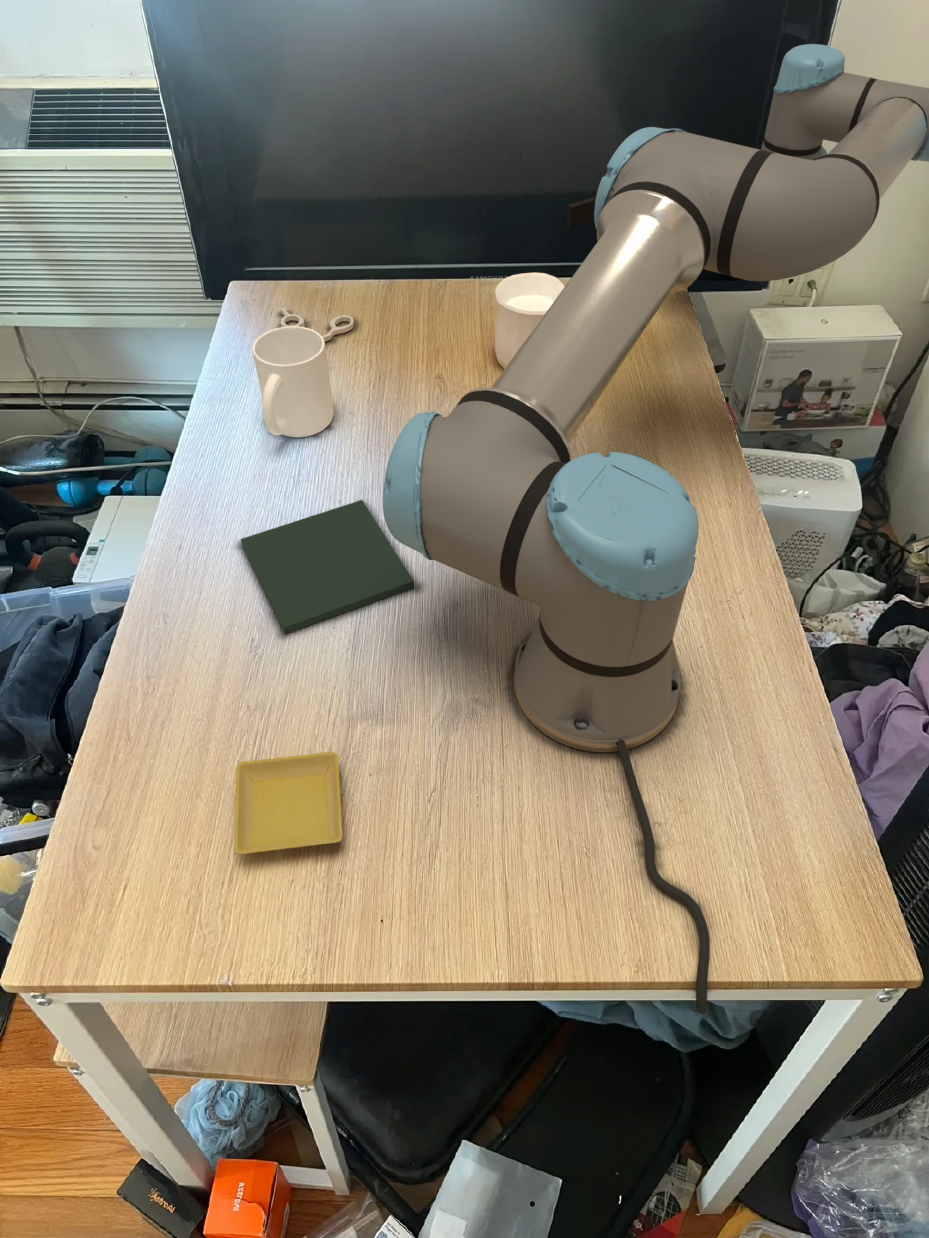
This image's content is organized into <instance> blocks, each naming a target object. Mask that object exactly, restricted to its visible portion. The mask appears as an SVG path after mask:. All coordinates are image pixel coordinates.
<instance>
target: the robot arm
mask: <svg viewBox="0 0 929 1238" xmlns="http://www.w3.org/2000/svg"><path fill="white" fill-rule="evenodd" d="M845 62H846V57H845V54H844V53H843V51H841V50H840V49H838V48H833V47H832V46H830V45H825V44H818V43H817V44H816V43H807V44H800V45H798V46H794V47H792V48H791V49H790V50H788V52H786V53H785V55H784V56H783V59H782V62H781V66H780V69H779V73H778V77H777V81H776V83H775V86H774V87H773V93H772V94H773V95H772V100H771V104H770V109H769V114H768V117H767V118H768V119H767V123H766V127H765V132H764V136H763V140H762V144H761V149H759V148H754V147H750V146H746V145H743V144H737V143H733V142H730V141H729V142H728V141H726V140H720V139H718V138H717V139H716V138H712V137H708V136H704V135H699V134H695V133H692V132H688V131H686V130H684V129H681V128H673V127H671V128H662V127H656V126H648V127H643V128H640V129H638V130H636V131H634V132H633V133H631V134H630V135H629V136H627V137H626V138H625V139H624V140H623V141H622V142H621V144H620V145H619V146H618V147H617V148H616V150H615V152H614V153H613V154H612V156H611V158H610V160H609V161H608V163H607V165H606V174H605V175H604V176H602V177H601V178H600V179H601V180H600V182H599V184H598V188H597V192H596V195H595V196H593V197H589V198H586V199H583V200H580V201H577V202H574V203H570V204H568V205H567V217H566V226H567V227H568V228H569V229H571V228H574V227H577V226H581V225H585V224H587V223H591V222H594V225H595V229H596V238H597V239H596V240H597V242H596V243H595V245H594V246H593V248H592V249H591V251H589V253H588V254H587V256H586V257H585V259H584V260H583V261H582V263H581V264H580V265H579V267H578V268H577V270H576V271H575V273H573V275H572V277H570V279H569V281H568V282H567V283H566V285H564V286H565V287H564V289H563V290H562V291H561V293H560V294H559V295H558V297H557V298H556V300H555V301H554V302H553V304H552V305H551V306H550V308H549V309H548V310H547V312H546V313H545V315H544V316H543V317H542V319H541V320H540V321H539V323H538V324H537V325H536V327H535V328H534V330H533V331H532V332H531V334H530V335H529V336H528V338H527V339H526V340H525V342H524V343H523V345H522V346H521V347H520V349H519V350H518V351H517V353H516V354H515V355H514V357H513V358H512V360H511V361H510V362H509V364H508V365H507V366H506V368H505V369H504V368H503V371H502V372H501V373H500V375H499V376H498V377H497V379H496V380H495V381H494V382H493V384H492V386H490V387H479V388H474V389H472V390H470V391H468V392H467V393H465V395H463V396H462V397H461V399H459V401H458V402H457V404H456V405H455V406H454V407H453V409H452V410H451V411H450V413H449V414H448V415H447V416H445V417H444V416H443V415H442V414H441V413H438V412H437V411H433V412H430V411H425V412H419V413H417V414H415V415H414V416H412V418H409V420H408V421H407V422H406V423H405V425H404V426H403V428H402V430H401V431H400V432H399V435H398V436H397V438H396V440H395V442H394V444H393V446H392V449H391V451H390V455H389V458H388V462H387V464H386V470H385V472H384V473H385V474H384V481H383V487H382V512H383V517H384V521H385V524H386V526H387V529H388V531H389V533H390V534H391V536H392V537H393V538H394V539H395V540H396V541H397V542H398V543H400V544H402V545H403V546H406V547H408V548H410V549H411V550H414V551H416V552H418V553H420V554H421V555H422V556H423V557H424V558H425V559H427V560H428V561H435V562H437V563H440V564H442V565H445V566H447V567H449V568H451V569H454V570H456V571H458V572H461V573H463V574H465V575H468V576H470V577H472V578H474V579H477V580H479V581H481V582H484V583H485V584H488V585H489V586H490V585H491V586H492V587H494V588H498V589H499V590H502V591H503V592H506V593H509V594H511V595H513V596H516V597H518V598H520V599H522V600H524V601H527V602H530V603H531V604H534V605H536V606H538V607H539V615H538V617H537V619H536V621H535V622H534V624H533V626H532V628H531V630H530V631H529V633H528V634H527V636H526V637H525V638H524V640H523V641H522V643H521V645H520V647H519V648H518V650H517V654H516V657H515V663H514V679H513V683H514V684H513V685H514V691H515V692H514V693H515V696H516V699H517V702H518V704H519V706H520V708H521V710H522V711H523V713H524V715H525V716H526V718H527V719H528V720H529V721H530V722H531V724H532V725H533V726H534V727H536V729H538V730H539V731H540V732H541V733H543V734H544V735H546V736H547V737H549V738H551V739H552V740H554V741H556V742H558V743H560V744H563V745H564V746H567V747H570V748H573V749H577V750H581V751H586V752H592V753H593V752H595V753H614V752H618V755H619V758H620V761H621V764H622V768H623V771H624V775H625V778H626V781H627V786H628V788H629V791H630V794H631V798H632V801H633V804H634V807H635V810H636V813H637V817H638V820H639V824H640V827H641V831H642V836H643V841H644V864H645V867H646V872H647V874H648V876H649V878H650V879H651V881H652V882H653V883H654V885H655V886H657V888H659V889H660V890H661V891H663V892H664V893H666V894H667V895H669V896H671V897H673V898H674V899H676V900H678V901H680V902H681V903H682V904H684V905H685V906H686V907H687V908H688V909H689V911H690V913H691V915H692V917H693V919H694V922H695V925H696V929H697V935H698V960H697V969H696V981H695V982H696V985H695V1006H696V1010H697V1011H698V1013H699V1014H701V1015H704V1014H706V1013H707V1010H708V978H709V966H710V955H711V953H710V952H711V946H710V945H711V941H710V933H709V928H708V924H707V921H706V919H705V916H704V913H703V911H702V909H701V908H700V906H699V904H698V903H697V902H696V901H695V900H694V898H692V897H691V896H690V895H689V894H688V893H686V892H684V891H683V890H681V889H680V888H678V887H676V886H675V885H673V884H670V883H669V882H668V881H667V880H665V879H664V878H663V877H662V876H661V875H660V873H659V871H658V869H657V867H656V859H655V858H656V857H655V856H656V855H655V853H656V847H655V846H656V845H655V839H654V838H655V837H654V833H653V830H652V826H651V823H650V820H649V816H648V811H647V809H646V806H645V803H644V800H643V796H642V794H641V791H640V787H639V784H638V781H637V777H636V775H635V771H634V767H633V765H632V761H631V758H630V755H629V751H628V750H630V749H633V748H636V747H639V746H641V745H643V744H645V743H647V742H649V741H650V740H652V739H653V738H656V737H657V736H658V735H659V734H660V733H661V732H662V731H663V730H664V729H665V728H666V727H667V726H668V724H669V723H670V722H671V719H672V718H673V716H674V714H675V711H676V708H677V705H678V702H679V698H680V694H681V690H682V674H681V669H680V664H679V659H678V656H677V652H676V647H675V642H674V636H675V632H676V628H677V626H678V621H679V617H680V613H681V610H682V606H683V603H684V600H685V595H686V591H687V588H688V584H689V581H690V580H691V577H692V575H693V573H694V571H695V562H696V551H697V549H696V548H697V542H698V538H699V528H700V527H699V517H698V512H697V509H696V507H695V506H694V505H693V503H692V502H691V497H690V495H689V493H688V491H687V490H686V489H685V488H684V486H683V485H682V484H681V483H680V481H678V480H677V478H675V477H674V476H673V475H672V474H671V473H669V471H667V470H665V469H664V468H662V467H661V466H659V465H657V464H655V463H653V462H651V461H649V460H647V459H644V458H642V457H640V456H637V455H633V454H630V453H625V452H619V451H610V452H609V453H608V454H607V455H606V456H603V455H602V454H601V453H600V452H589V453H586V454H583V455H579V456H577V457H575V458H573V453H572V450H571V447H570V445H569V444H570V442H571V441H572V439H573V438H574V437H575V435H576V433H577V432H578V430H579V429H580V428H581V426H582V424H583V423H584V421H585V420H586V418H587V417H588V415H589V414H590V412H591V411H592V410H593V408H594V407H595V405H596V403H597V402H598V401H599V399H600V397H601V396H602V394H603V393H604V391H605V389H606V388H607V387H608V385H609V384H610V382H611V381H612V379H613V378H614V376H615V375H616V373H617V372H618V370H619V369H620V367H621V366H622V364H623V362H624V361H625V360H626V358H627V357H628V356H629V354H630V353H631V350H633V348H634V346H635V345H636V344H637V342H638V340H639V339H640V337H641V336H642V335H643V333H644V331H645V330H646V329H647V328H648V325H649V324H650V322H651V321H652V319H653V318H654V317H655V315H656V313H657V312H658V310H659V309H660V307H661V306H662V304H663V302H664V301H665V300H666V298H667V297H668V295H671V294H676V293H679V292H682V291H684V290H685V289H687V288H689V287H690V286H692V284H693V283H694V282H695V281H696V280H697V279H698V277H699V276H700V274H701V273H702V272H703V270H705V271H708V272H709V271H710V272H714V273H716V274H720V275H725V276H727V277H728V276H729V277H731V278H736V279H740V280H743V281H750V282H772V281H780V280H785V279H790V278H794V277H799V276H801V275H804V274H807V273H812V272H814V271H816V270H819V269H821V268H823V267H825V266H828V265H829V264H832V263H834V262H835V261H837V260H838V259H840V258H842V257H843V256H845V255H846V254H847V253H849V252H850V251H852V250H853V249H854V248H855V247H856V246H857V245H858V244H859V243H860V242H861V241H862V240H863V239H864V237H865V236H866V235H867V234H868V232H869V231H870V230H871V228H872V226H873V225H874V223H875V221H876V220H877V216H878V215H879V210H880V205H881V199H882V198H883V197H884V196H885V194H886V192H887V191H888V190H889V189H890V187H891V186H893V184H894V182H895V181H896V179H898V177H899V176H900V174H902V172H903V171H904V169H905V168H906V167H907V166H908V164H909V163H910V161H913V162H917V161H919V162H920V161H921V162H928V163H929V87H925V86H919V85H913V84H907V83H901V82H896V81H890V80H885V79H878V78H874V77H870V76H865V75H859V74H856V73H849V72H845V68H846V67H845ZM823 141H828V142H833V143H837V144H836V145H835V146H834V147H833V148H831V150H830V151H829V152H828V151H827V150H826V149H825V147H824V146H823V143H824V142H823Z"/></svg>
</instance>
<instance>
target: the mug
mask: <svg viewBox="0 0 929 1238" xmlns="http://www.w3.org/2000/svg"><path fill="white" fill-rule="evenodd" d="M322 336H323V335H322V334H320V333H319V332H317V331H316V330H314V329H312V328H309V327H299V326H294V325H289V326H288V327H281V326H280V327H277V328H272V329H271V330H268V331H266V332H264V333H263V334H260V336H258V337H257V338H256V339H255V340H254V342H253V344H252V355H253V359H254V365H255V369H256V374H257V379H258V385H259V389H260V395H261V401H262V403H261V406H262V408H261V409H262V411H261V412H262V418H263V422H264V425H265V427H266V429H267V431H268V432H269V433H270V434H271V435H273V436H285V437H289V438H306V437H310V436H311V437H312V436H314V435H316V434H319V433H320V432H322V431H324V430H325V429H326V428H327V427H328V426H329V425H330V424H331V422H332V421H333V418H334V411H335V410H334V401H333V394H332V388H331V387H332V386H331V379H330V373H329V364H328V357H327V350H326V343H325V342H326V341H325V342H324V339H323V337H322Z"/></svg>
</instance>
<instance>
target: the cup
mask: <svg viewBox="0 0 929 1238" xmlns="http://www.w3.org/2000/svg"><path fill="white" fill-rule="evenodd" d="M565 286H566V285H565V284H564V283H563V282H562V281H561V280H560V279H558V278H557V277H556V276H555V275H552V274H551V275H550V274H549V273H545V272H525V273H523V272H522V273H517V274H512V275H510V276H507V277H505V278H503V279H502V280H501V281H500V282H499V283H497V285H496V287H495V289H494V292H495V301H496V302H495V303H496V320H495V327H494V328H495V329H494V350H495V351H494V352H495V357H496V361H497V362H498V363H499V365H500V366H501V368H502V369H503V370H504V369H505V368H506V366H507V365H508V364H509V362H510V361H511V360H512V358H513V357H514V355H515V354H516V353H517V351H518V350H519V349H520V347H521V346H522V345H523V343H524V342H525V340H526V339H527V338H528V336H529V335H530V334H531V332H532V331H533V330H534V328H535V327H536V325H537V324H538V323H539V321H540V320H541V319H542V317H543V316H544V315H545V313H546V312H547V310H548V309H549V308H550V306H551V305H552V304H553V302H554V301H555V300H556V298H557V297H558V295H559V294H560V293H561V291H562V290H563V289H564V287H565Z"/></svg>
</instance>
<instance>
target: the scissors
mask: <svg viewBox="0 0 929 1238" xmlns="http://www.w3.org/2000/svg"><path fill="white" fill-rule="evenodd" d="M280 312H281V315H283V316H282V317H281V319H280V328H281V327H288V326H290V325H288V324H286V323H287V322H290V321H297V322H298V323H296V324H295V325H293V326H299V327H305V326H306V325H305V320H304V318H303V317H302V316H301V315H299V314H294V313H293V314H292V313H289V312H288V311H287V308H286V307H281V308H280ZM341 322H348V324H347V325H344V326H337V325H338V324H339V323H341ZM328 326H329V328H330V330H329V332H328V333H325V334H324V335H321V336H322V337H323V339H324V342H328V341H331V340H332V339H333V337H334V336H335V335H341V334H345V333H347V332H349V331H351V330H352V329H353V328H354V326H355V321H354V318H353V316H351V315H348V314H343V315H337V316H336V317H334V318H332V319H331V320H330V321H329V323H328ZM305 328H306V327H305Z"/></svg>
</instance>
